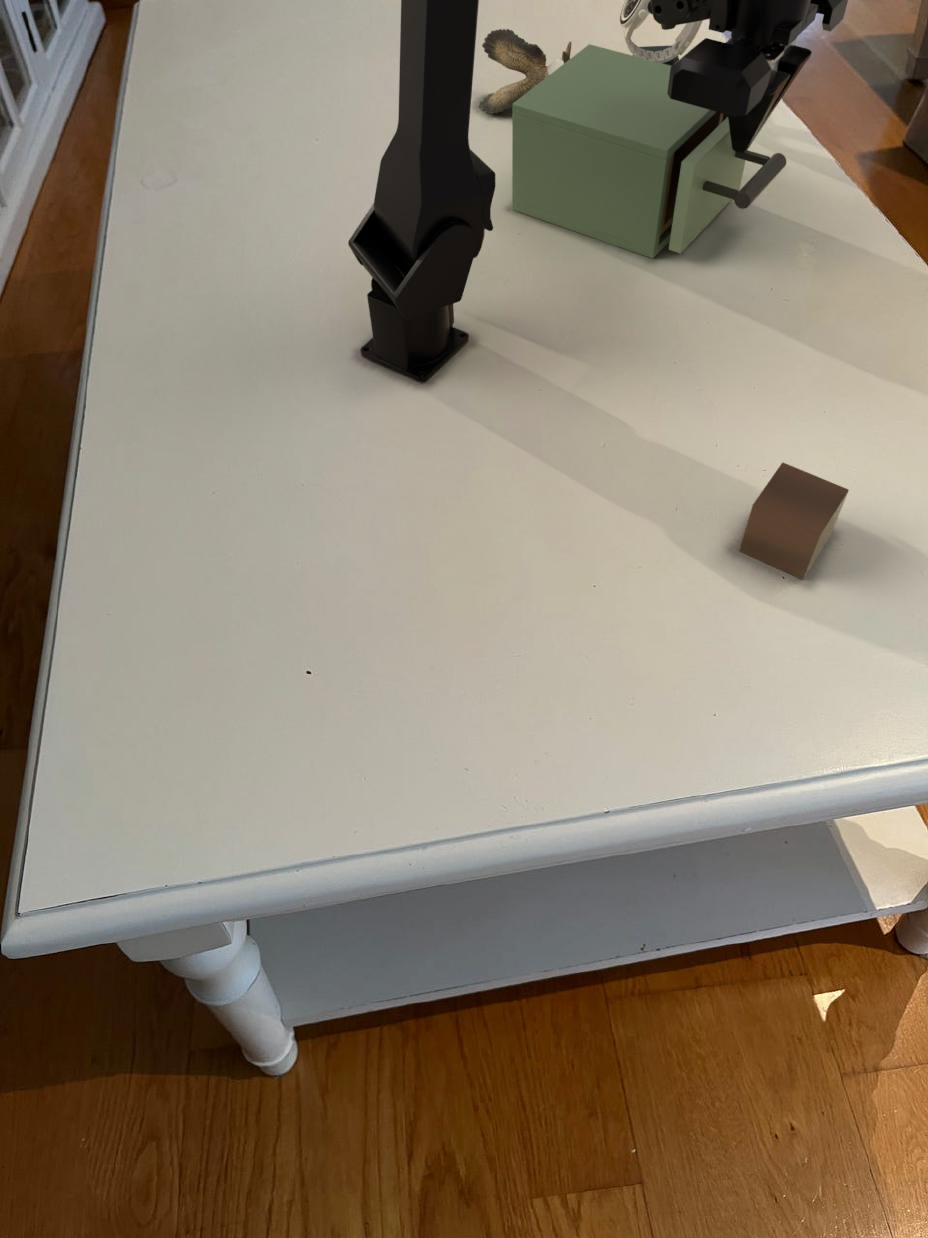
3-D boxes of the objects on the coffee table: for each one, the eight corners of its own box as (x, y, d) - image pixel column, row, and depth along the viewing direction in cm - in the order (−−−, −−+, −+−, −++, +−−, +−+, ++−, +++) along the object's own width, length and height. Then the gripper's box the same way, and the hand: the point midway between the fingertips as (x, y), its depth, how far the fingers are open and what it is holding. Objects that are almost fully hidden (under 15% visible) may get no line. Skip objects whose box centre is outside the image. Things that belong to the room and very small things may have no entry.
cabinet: (718, 190, 89) (738, 83, 82) (653, 258, 84) (667, 150, 76) (582, 147, 95) (589, 43, 87) (511, 209, 89) (512, 103, 81)
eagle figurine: (562, 66, 102) (478, 53, 101) (579, 21, 95) (489, 7, 94) (558, 135, 102) (474, 124, 101) (575, 96, 95) (485, 83, 94)
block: (802, 580, 63) (820, 534, 59) (738, 551, 64) (752, 504, 61) (830, 536, 65) (849, 489, 61) (767, 508, 66) (782, 461, 63)
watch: (611, 78, 103) (621, -39, 94) (687, 75, 102) (704, -43, 94) (616, 104, 99) (626, -15, 91) (695, 101, 99) (713, -19, 90)
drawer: (784, 204, 86) (805, 116, 80) (726, 269, 81) (745, 180, 75) (609, 150, 93) (616, 65, 86) (546, 207, 87) (549, 121, 81)
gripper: (736, -135, 74) (702, 78, 86) (613, -48, 65) (596, 175, 78) (878, -110, 70) (821, 110, 82) (767, -13, 61) (723, 216, 74)
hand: (739, 149), depth 79 cm, fingers closed
